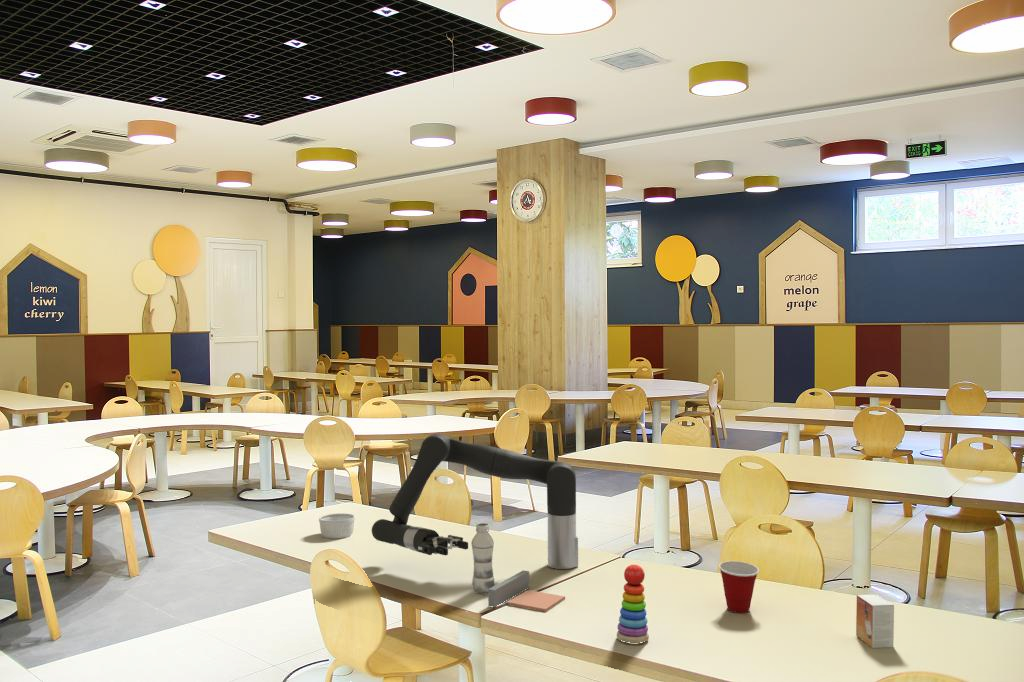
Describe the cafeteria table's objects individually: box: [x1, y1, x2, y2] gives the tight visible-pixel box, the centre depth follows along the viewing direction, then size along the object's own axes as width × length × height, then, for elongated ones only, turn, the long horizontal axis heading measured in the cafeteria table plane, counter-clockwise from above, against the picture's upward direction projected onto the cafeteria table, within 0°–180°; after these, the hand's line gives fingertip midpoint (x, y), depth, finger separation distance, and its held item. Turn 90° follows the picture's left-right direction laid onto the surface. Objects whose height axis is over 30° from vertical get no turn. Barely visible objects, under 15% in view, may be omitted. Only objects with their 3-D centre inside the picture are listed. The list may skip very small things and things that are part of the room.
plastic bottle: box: [471, 522, 496, 594], centre depth 246 cm, size 6×7×20 cm
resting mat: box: [507, 589, 566, 613], centre depth 238 cm, size 12×12×1 cm
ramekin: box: [318, 512, 356, 540], centre depth 314 cm, size 13×13×7 cm
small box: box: [855, 594, 895, 649], centre depth 207 cm, size 8×6×10 cm
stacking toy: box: [616, 564, 650, 643], centre depth 209 cm, size 8×8×19 cm
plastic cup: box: [718, 560, 760, 614], centre depth 230 cm, size 11×11×12 cm
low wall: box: [487, 569, 530, 608], centre depth 242 cm, size 20×2×5 cm, turn 150°
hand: (457, 548), depth 254 cm, fingers open, 8 cm apart
